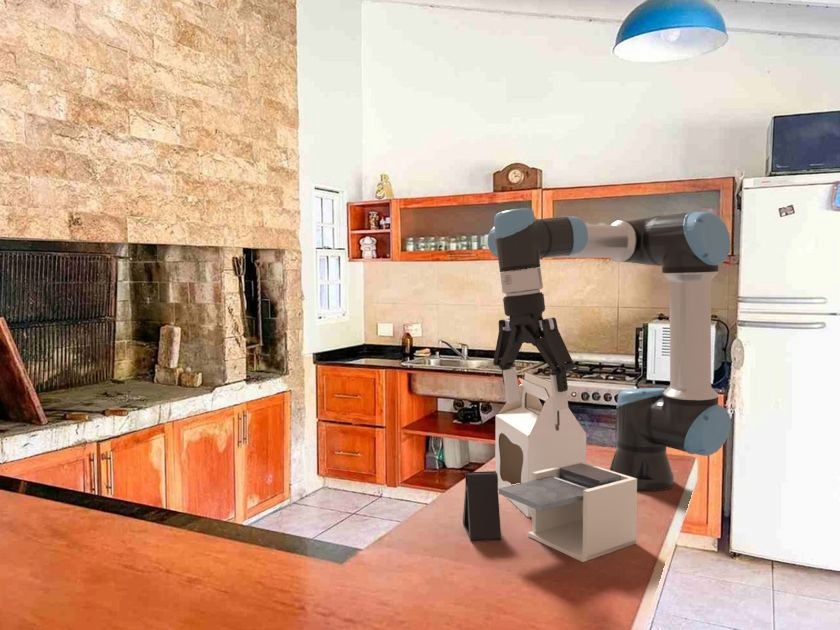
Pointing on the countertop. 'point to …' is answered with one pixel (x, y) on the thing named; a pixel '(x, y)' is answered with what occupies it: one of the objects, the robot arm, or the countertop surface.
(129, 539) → the countertop surface
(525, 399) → the gable box
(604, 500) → the frame
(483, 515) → the phone stand
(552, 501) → the trapdoor
